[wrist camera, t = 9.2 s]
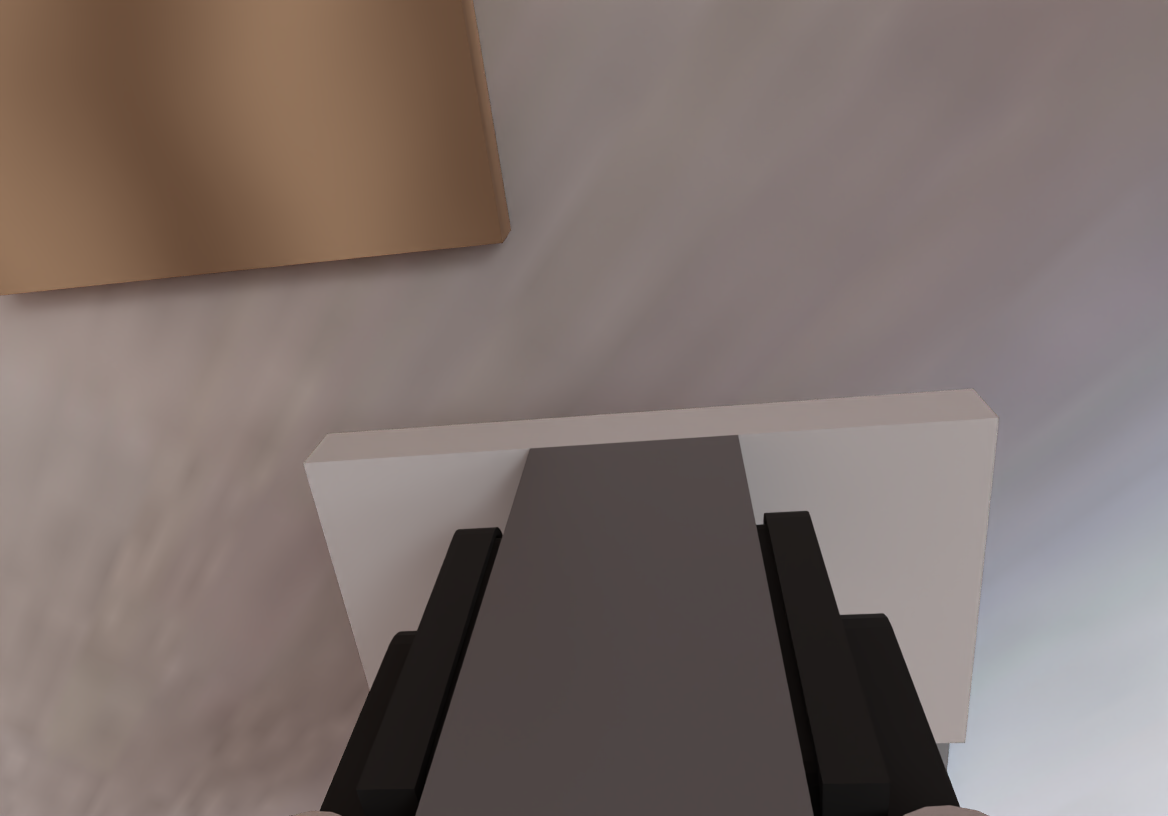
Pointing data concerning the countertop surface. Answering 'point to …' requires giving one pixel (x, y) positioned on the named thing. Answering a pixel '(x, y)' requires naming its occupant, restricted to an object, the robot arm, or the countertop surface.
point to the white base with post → (659, 586)
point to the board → (238, 136)
